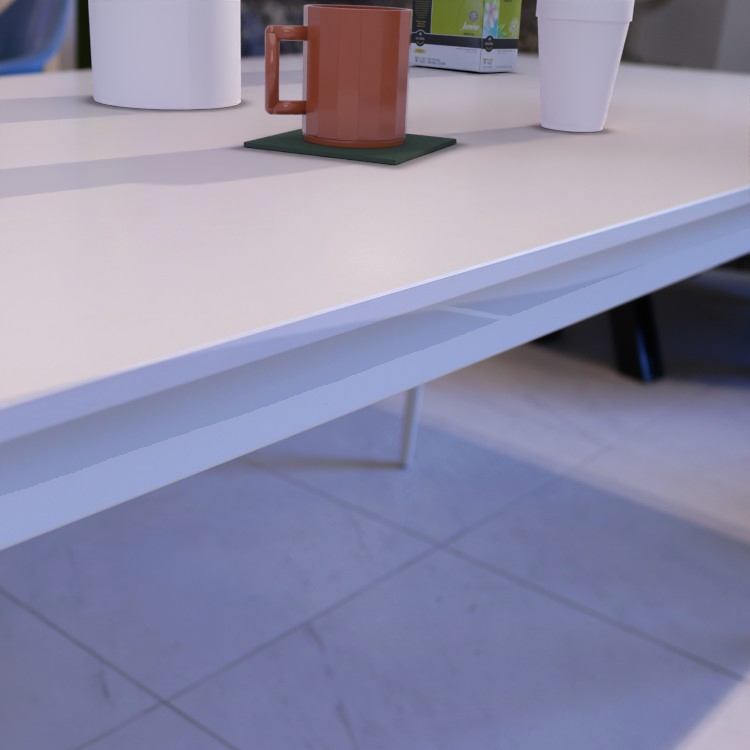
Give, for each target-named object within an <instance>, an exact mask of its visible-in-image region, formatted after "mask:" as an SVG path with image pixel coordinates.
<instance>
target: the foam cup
mask: <svg viewBox="0 0 750 750" xmlns="http://www.w3.org/2000/svg"><path fill="white" fill-rule="evenodd" d="M635 1H636V0H536V7H535V8H536V9H535V17H537V37H538V38H537V41H538V44H537V46H538V71H539V72H538V74H539V75H538V76H539V78H538V79H539V102H540V104H539V108H540V109H539V110H540V120H541V122H540V126H541V127H542V128H545V129H549V130H553V131H560V132H573V133H593V132H595V133H596V132H601V131H603V130H604V125H605V124H606V120H607V116H608V112H609V108H610V104H611V99H612V95H613V91H614V88H615V83H616V79H617V76H618V71H619V67H620V63H621V59H622V55H623V51H624V46H625V42H626V39H627V35H628V31H629V26H630V23H631V22H633V16H634V7H635Z"/></svg>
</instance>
